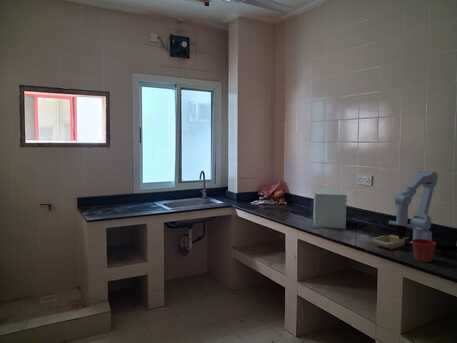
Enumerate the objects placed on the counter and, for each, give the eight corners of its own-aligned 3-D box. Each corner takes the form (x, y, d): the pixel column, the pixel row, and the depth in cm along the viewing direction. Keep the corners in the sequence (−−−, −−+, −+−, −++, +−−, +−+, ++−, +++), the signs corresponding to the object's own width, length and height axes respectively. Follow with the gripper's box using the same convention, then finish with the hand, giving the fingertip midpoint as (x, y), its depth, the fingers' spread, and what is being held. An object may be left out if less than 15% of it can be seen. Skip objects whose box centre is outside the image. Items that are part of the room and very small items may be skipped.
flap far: (380, 236, 213) (380, 236, 213) (369, 239, 206) (369, 240, 206) (386, 235, 210) (386, 236, 210) (375, 238, 203) (375, 239, 203)
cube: (313, 219, 270) (314, 189, 268) (341, 221, 265) (342, 190, 263) (314, 227, 245) (315, 194, 243) (345, 229, 241) (346, 195, 239)
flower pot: (409, 255, 184) (409, 237, 183) (431, 257, 181) (432, 239, 180) (413, 261, 174) (414, 243, 173) (437, 264, 171) (438, 245, 170)
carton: (407, 244, 204) (408, 238, 204) (387, 250, 192) (388, 244, 191) (390, 239, 213) (390, 234, 213) (370, 245, 201) (370, 240, 200)
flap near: (403, 239, 202) (403, 240, 202) (392, 243, 195) (392, 243, 194) (408, 236, 199) (409, 237, 199) (397, 240, 192) (398, 240, 192)
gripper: (386, 214, 199) (385, 236, 200) (411, 218, 187) (410, 242, 188) (392, 212, 203) (391, 235, 204) (417, 217, 191) (416, 240, 192)
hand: (401, 238), depth 196 cm, fingers closed
